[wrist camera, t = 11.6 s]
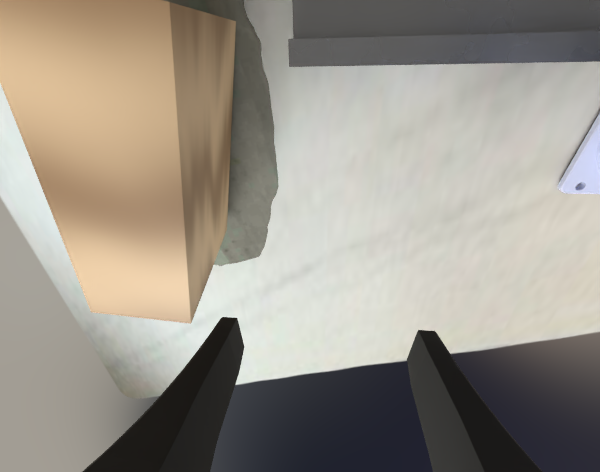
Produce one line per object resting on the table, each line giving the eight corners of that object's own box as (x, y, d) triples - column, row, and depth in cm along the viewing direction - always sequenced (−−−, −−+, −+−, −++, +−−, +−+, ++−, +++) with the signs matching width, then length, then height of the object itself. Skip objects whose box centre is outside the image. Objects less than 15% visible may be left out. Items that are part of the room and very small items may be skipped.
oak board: (226, 229, 20) (191, 323, 13) (161, 219, 19) (91, 312, 13) (235, 21, 13) (169, 2, 6) (134, -3, 12) (-53, -52, 6)
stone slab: (217, -179, 11) (7, -107, 12) (199, -234, 9) (-56, -141, 10) (312, 240, 24) (205, 260, 25) (314, 261, 22) (197, 282, 23)
